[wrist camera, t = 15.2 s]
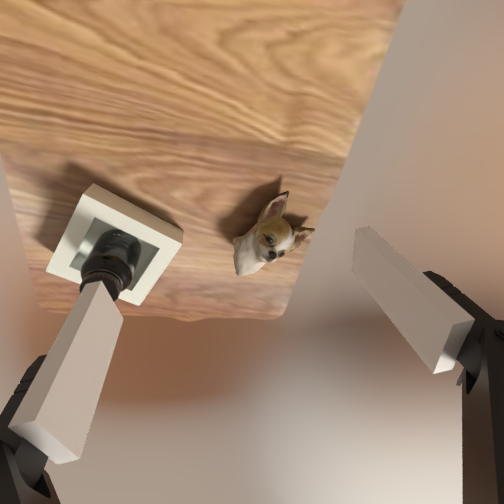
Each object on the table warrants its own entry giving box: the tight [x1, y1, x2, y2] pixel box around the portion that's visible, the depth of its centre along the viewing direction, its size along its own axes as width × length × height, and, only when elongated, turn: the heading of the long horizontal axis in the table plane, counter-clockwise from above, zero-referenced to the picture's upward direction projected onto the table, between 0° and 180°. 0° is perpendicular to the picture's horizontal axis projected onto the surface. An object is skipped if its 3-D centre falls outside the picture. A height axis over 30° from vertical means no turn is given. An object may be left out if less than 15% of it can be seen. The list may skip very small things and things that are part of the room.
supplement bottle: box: [80, 229, 141, 302], centre depth 41 cm, size 7×7×12 cm
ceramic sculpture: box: [233, 191, 315, 276], centre depth 47 cm, size 11×9×15 cm
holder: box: [46, 183, 184, 306], centre depth 45 cm, size 15×15×4 cm
